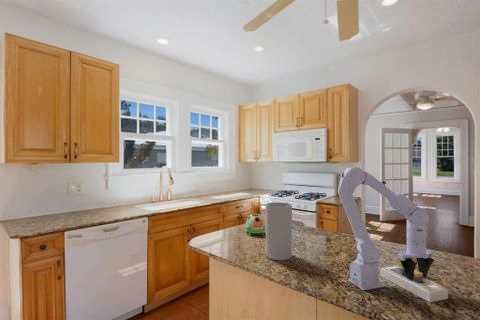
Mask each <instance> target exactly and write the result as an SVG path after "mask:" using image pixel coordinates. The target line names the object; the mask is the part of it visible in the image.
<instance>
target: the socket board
mask: <svg viewBox="0 0 480 320" xmlns="http://www.w3.org/2000/svg"><path fill="white" fill-rule="evenodd" d="M394 268H402V267H401V266H399V265H398V264H395V265H394V266H388V267H387V266H386V267H385V266H382V267H381V268H380V271H379V273H380V274H379V275H380V277H382V278H384V279H386V280H387V281H389V282H391V283H393V284H395V285H397V286H398V285H399V287H400V288H402V289H404V290H406V291H408V292H409V293H411V294H413V295H416V296H417V297H418V298H421V299H423V300H424V301H426V302H428V303H433V302H439V301H443V300H448V299H449V289H447V288H446V287H445V286H443V285H441V284H439V283H438V282H437V283H436V282H435V281H433V280H430V279H429V278H427V277H426V278H423V283H421V284H418V283H416V282H414V281H412V280H410V279H408V278H406V276H402V275H400V274H398V273H396V272H394V271H392V270H390V269H394Z"/></svg>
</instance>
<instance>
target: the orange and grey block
mask: <svg viewBox="0 0 480 320" xmlns="http://www.w3.org/2000/svg"><path fill="white" fill-rule="evenodd" d="M412 281H414V282H416V283H418V284H421V283H423V273H421V272H419V271H418V270H416V269H415V270H414V279H413V280H412Z"/></svg>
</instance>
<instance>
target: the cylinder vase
mask: <svg viewBox="0 0 480 320" xmlns="http://www.w3.org/2000/svg"><path fill="white" fill-rule="evenodd" d="M265 255H266V258H269V259H270V260H274V261H287V260H290V259H291V258H292V256H293V204H292V203H290V202H289V203H288V202H277V201H276V202H275V201H274V202H267V203H265Z"/></svg>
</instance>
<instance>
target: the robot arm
mask: <svg viewBox="0 0 480 320" xmlns="http://www.w3.org/2000/svg"><path fill="white" fill-rule="evenodd" d="M360 185H364V186H369V187H371V188H372V189H373V190H375V191H376V192H377V193H379V194H380V195H381V196H383V197H384V198H386V201H387V204H388V205H389V206H390V207H392V208H393V209H394V210H395V211H396V212H397V213H398V212H399V214H401V215H402V216H403V217H404V218H405V219H406V250H404V251H402V252H400V253H399V252H398V253H397V259H398V261H399V263H400V262H401V264H402V266H403V268H404V271H405V274H406V278H408V279H410V280H413V279H414V270H416V268H417V269H418V270H417V271H419V272H421V273H423V278H426V279H427V275H428V272H429V271H430V268H431V266H432V265H433V263H434V261H435V259H434V258H432V257H435V252H434V250H431V249H427V234H426V233H427V228H426V227H427V226H426V225H427V223H428V222H429V220H430V216H429V214H428V212H427V211H426V210H425V209H424V208H421V207H419V206H418V203H417V202H415V201H414V202H413V201H412V200H411V199H409V198H408V197H407V194H405V193H404V192H399V191H395V192H393V191H392V190H391V189H390V188H388V187H387V186H386V185H384V183H382V182H381V181H380V180H378V179H377V178H376V177H375V176H373V175H372V174H370V173H369V172H367V171H364V170H363V169H362V168H360V167H358V166H357V167H354V166H348V167H346V168H345V169H343V171H342V173H341V175H340V179H339V184H338V188H337V194H338V196H339V200H340V202H341V205H342V206H343V209H344V212H345V215H346V216H347V220H348V221H349V224H350V227H351V229H352V230H351V231H352V233H353V234H354V239H355V241H356V242H355V243H356V244H355V248H356V250H357V252H358V254H357V256H356V259H355V260H354V261H351V262H350V263H349V278H348V282H350V283H351V284H353V285H354V286H356V287H357V288H359V289H361V290H362V291H368V290H373V289H380V288H385V285H384V284H383V283H380V282H379V260H380V257H381V253H380V250H379V249H378V248H377V247H376V246H375V245H374V243H373V241H372V239H371V236H370V235H369V233H368V230H367V227H366V225H365V223H364V220H363V218H362V215H361V212H360V210H359V208H358V204H357V203H356V200H355V197H354V195H353V194H354V192H355V191H356V189H357V187H358V186H360ZM413 258H414V259H415V260H416V262H414V261H413V260H412V259H413ZM415 267H416V268H415Z"/></svg>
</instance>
